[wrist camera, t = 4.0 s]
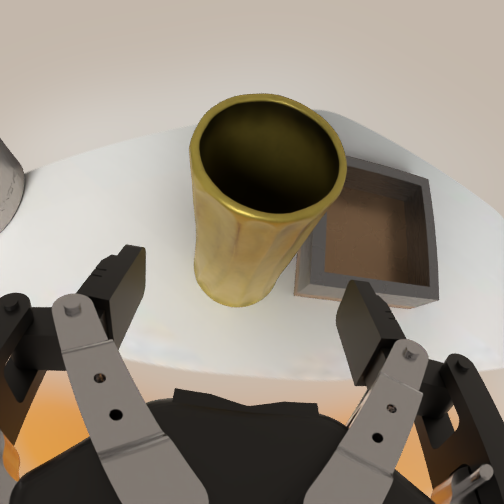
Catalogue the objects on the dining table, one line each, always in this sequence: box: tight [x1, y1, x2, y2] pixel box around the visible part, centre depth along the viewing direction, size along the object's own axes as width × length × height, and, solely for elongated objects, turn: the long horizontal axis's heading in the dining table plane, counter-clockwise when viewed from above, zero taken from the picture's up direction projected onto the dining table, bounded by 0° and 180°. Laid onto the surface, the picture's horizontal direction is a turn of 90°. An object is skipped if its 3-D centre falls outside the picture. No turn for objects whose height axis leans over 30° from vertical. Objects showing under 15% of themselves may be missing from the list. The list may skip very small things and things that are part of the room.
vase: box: [189, 94, 347, 307], centre depth 17 cm, size 6×6×14 cm
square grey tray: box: [294, 156, 439, 309], centre depth 23 cm, size 10×10×4 cm
